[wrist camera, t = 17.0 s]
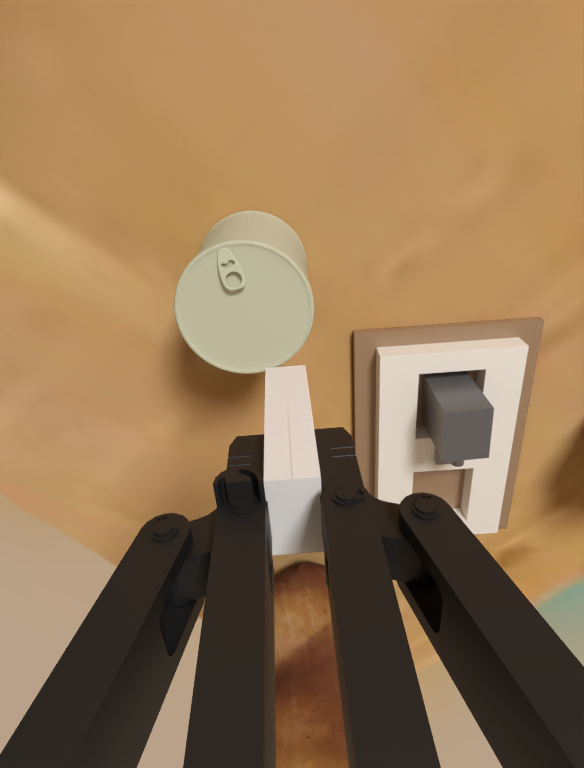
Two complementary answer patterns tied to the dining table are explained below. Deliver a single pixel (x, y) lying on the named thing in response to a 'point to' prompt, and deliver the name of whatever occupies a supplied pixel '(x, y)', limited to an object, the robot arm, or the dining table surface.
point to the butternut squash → (306, 673)
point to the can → (246, 294)
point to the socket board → (404, 412)
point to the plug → (456, 416)
